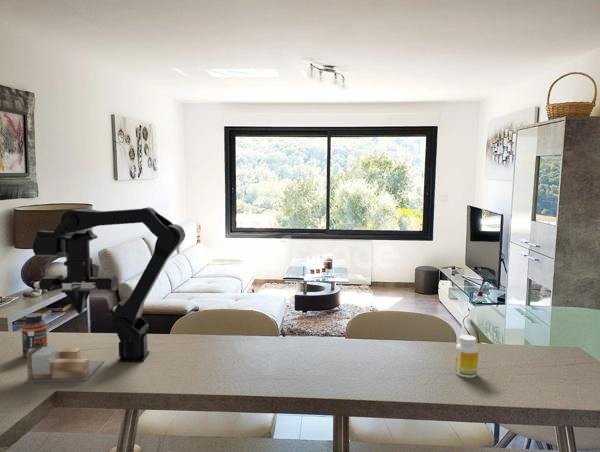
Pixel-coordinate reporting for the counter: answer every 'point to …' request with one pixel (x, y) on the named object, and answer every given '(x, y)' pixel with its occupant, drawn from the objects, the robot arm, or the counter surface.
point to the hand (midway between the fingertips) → (80, 313)
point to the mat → (92, 368)
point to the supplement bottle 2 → (466, 357)
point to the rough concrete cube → (44, 360)
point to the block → (63, 365)
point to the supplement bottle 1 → (33, 333)
